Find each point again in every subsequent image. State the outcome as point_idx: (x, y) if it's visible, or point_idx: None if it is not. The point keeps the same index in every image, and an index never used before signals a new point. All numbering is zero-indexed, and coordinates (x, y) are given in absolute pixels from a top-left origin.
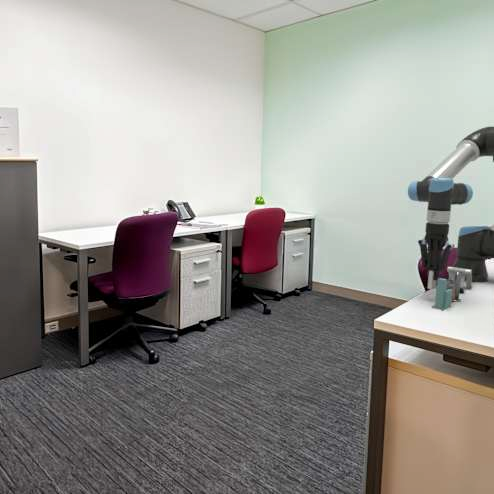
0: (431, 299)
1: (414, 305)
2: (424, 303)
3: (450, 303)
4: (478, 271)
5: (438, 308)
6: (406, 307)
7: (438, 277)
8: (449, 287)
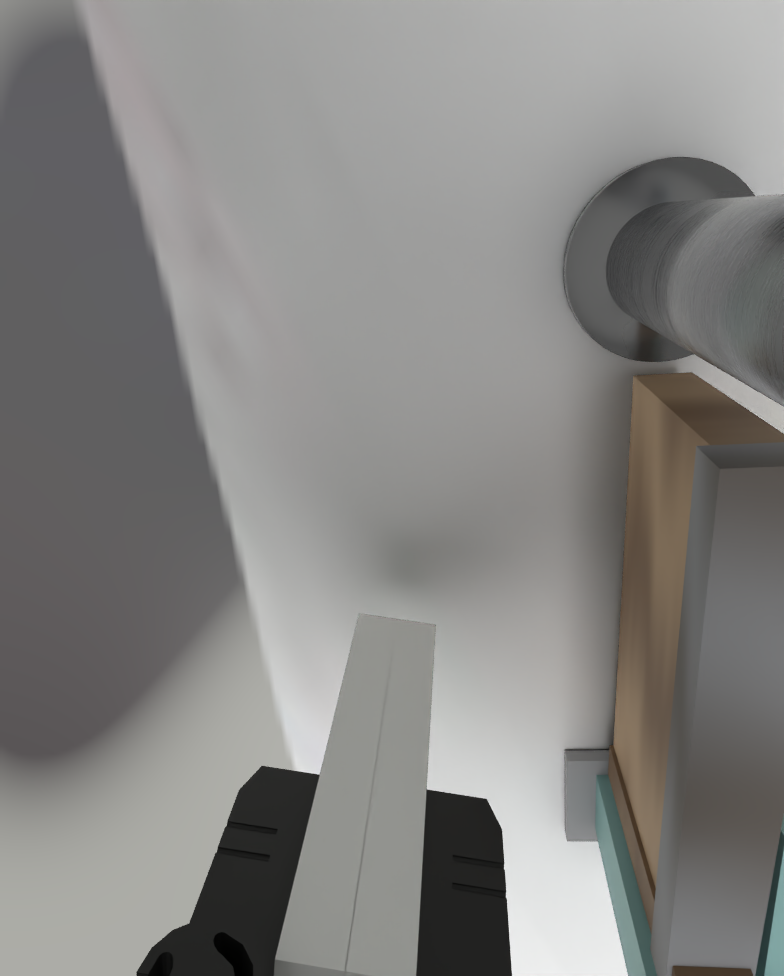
0: (389, 512)
1: None
2: (430, 744)
3: None
4: None
5: None
6: None
7: (501, 866)
8: (777, 824)
